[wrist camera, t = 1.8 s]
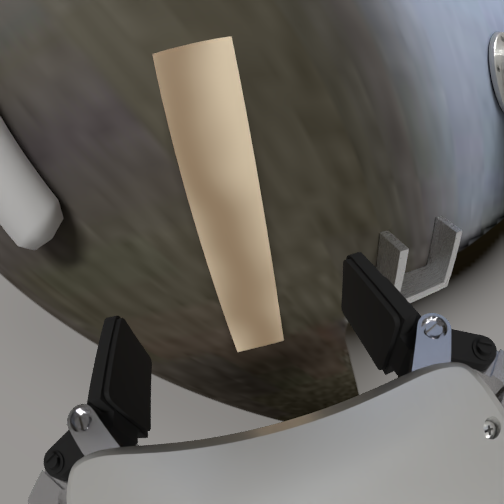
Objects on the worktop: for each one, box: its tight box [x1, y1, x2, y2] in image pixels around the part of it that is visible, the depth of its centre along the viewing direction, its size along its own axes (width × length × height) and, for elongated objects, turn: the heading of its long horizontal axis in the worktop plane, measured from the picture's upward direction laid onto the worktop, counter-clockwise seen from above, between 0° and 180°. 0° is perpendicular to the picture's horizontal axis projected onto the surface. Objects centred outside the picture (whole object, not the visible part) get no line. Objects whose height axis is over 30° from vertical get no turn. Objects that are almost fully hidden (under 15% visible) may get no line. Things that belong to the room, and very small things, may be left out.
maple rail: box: [153, 37, 284, 352], centre depth 18 cm, size 4×22×5 cm, turn 10°
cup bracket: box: [376, 216, 462, 303], centre depth 25 cm, size 9×8×4 cm
